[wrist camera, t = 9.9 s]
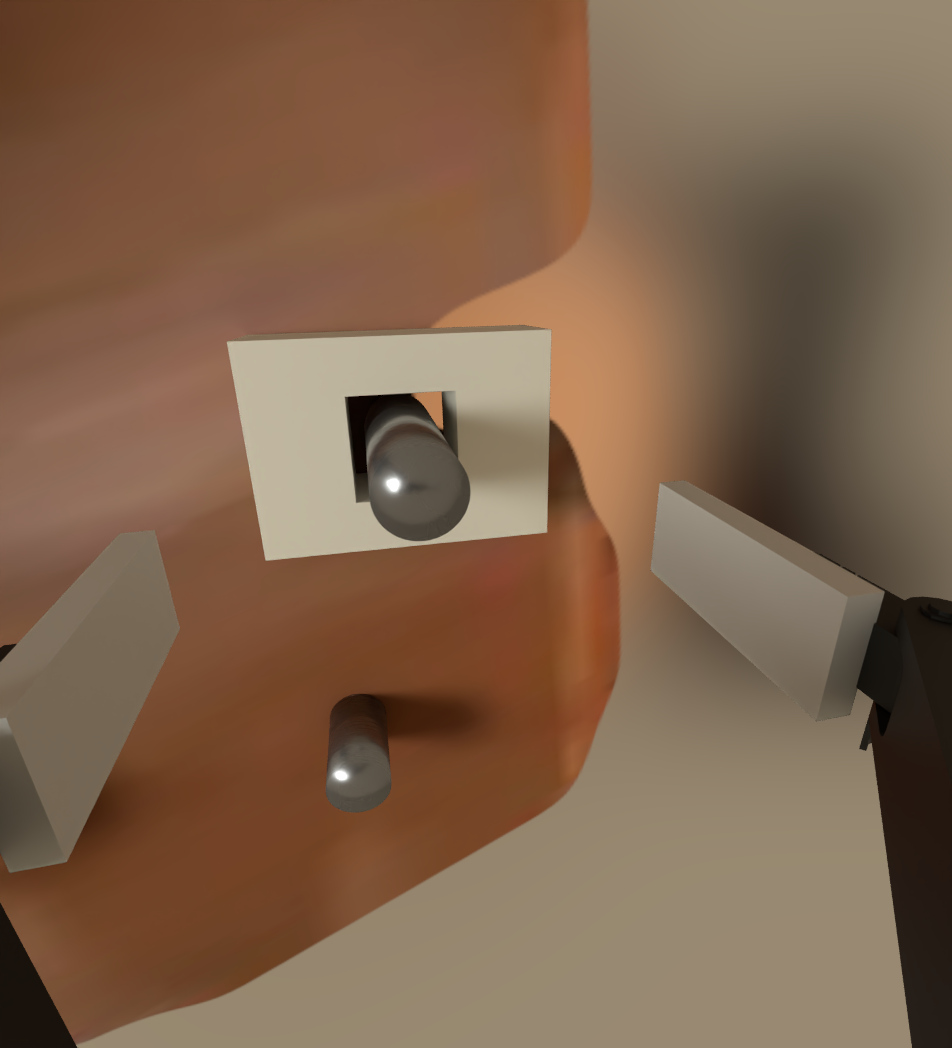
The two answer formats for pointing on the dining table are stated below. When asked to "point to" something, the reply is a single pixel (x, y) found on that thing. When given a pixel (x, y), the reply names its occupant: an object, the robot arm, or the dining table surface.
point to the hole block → (376, 369)
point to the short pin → (358, 754)
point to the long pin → (412, 471)
